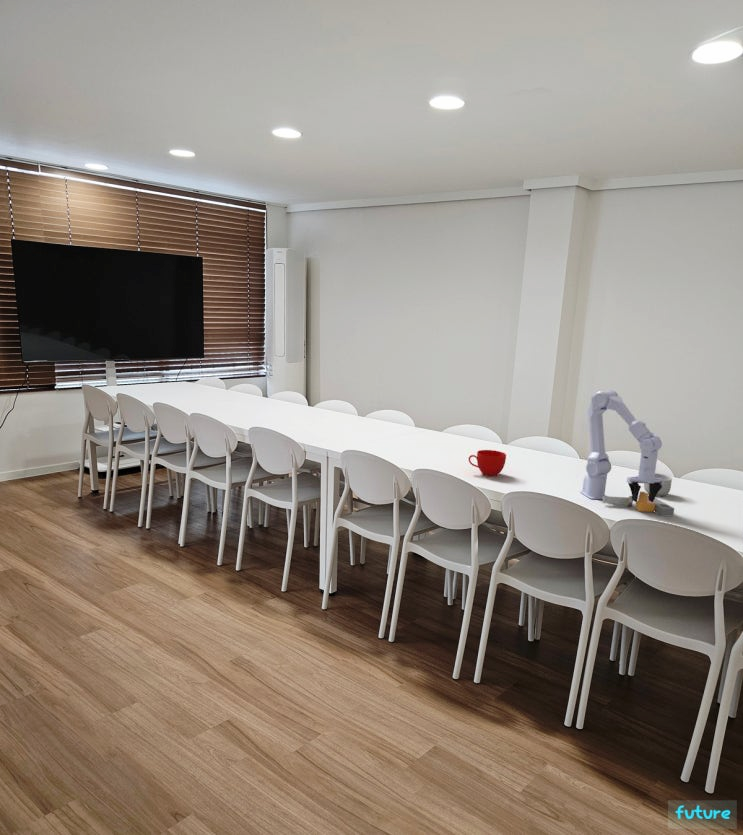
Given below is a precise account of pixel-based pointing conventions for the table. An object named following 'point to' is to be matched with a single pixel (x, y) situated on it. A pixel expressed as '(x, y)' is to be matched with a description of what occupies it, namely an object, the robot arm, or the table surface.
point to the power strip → (662, 507)
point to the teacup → (665, 486)
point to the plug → (644, 503)
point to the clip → (618, 500)
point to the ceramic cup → (489, 462)
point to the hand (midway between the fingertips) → (642, 501)
